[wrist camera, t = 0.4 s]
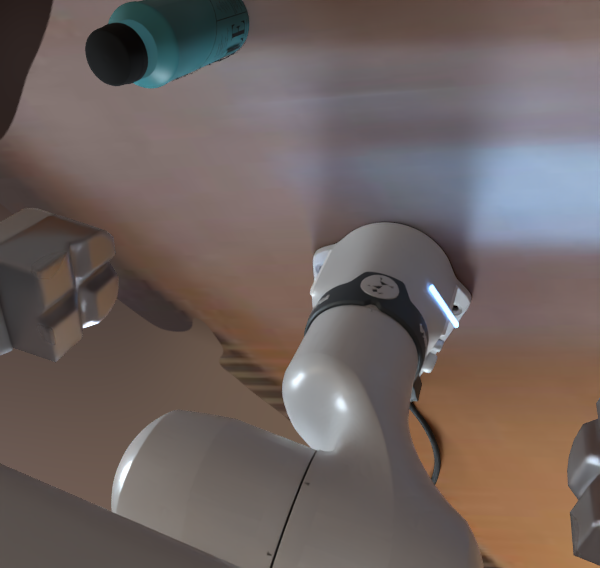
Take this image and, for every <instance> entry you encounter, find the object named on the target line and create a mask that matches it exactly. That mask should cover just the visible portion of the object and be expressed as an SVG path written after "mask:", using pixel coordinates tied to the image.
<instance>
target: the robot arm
mask: <svg viewBox="0 0 600 568" xmlns="http://www.w3.org/2000/svg"><path fill="white" fill-rule="evenodd" d="M115 254H116V253H115V247H114V240H113V237H112V236H111V235H110V234H109V233H108V232H107V231H105V230H102V229H99V228H96V227H93V226H90V225H87V224H84V223H81V222H78V221H75V220H72V219H69V218H66V217H63V216H60V215H56V214H53V213H50V212H47V211H43V210H40V209H37V208H25V209H23V210H21V211H19V212H18V213H16V214H14V215H12V216H10V217H8V218H6V219H5V220H3V221H1V222H0V355H2V354H4V353H7V352H9V351H12V348H15V349H19V350H21V351H25V352H27V353H30V354H33V355H36V356H39V357H42V358H45V359H48V360H51V361H54V362H56V361H57V360H59V358H61V357H62V356H63V355H64V354H65V353H66V352H67V351H68V350H70V349H71V348H72V347H73V346H74V345H75V344H76V343H77V342H79V341H80V340H81V339H82V333H83V328H84V327H87V326H91V325H94V324H97V323H99V322H100V321H101V320H102V319H104V318H105V316H107V315H108V314H109V313H110V311H111V309H112V307H113V305H114V303H115V301H116V299H117V294H118V288H119V283H118V274H117V273H116V271H115V270H114V268H113V267H112V265H111V264H110V262H109V261H110V260H111V259H112V257H113V256H114V255H115ZM321 266H322V267H321ZM313 270H314V283H313V285H312V287H311V290H310V295H312V305H313V310H312V312H311V314H310V316H309V318H308V322H307V325H306V328H305V333H304V339H303V340H302V342H301V344H300V346H299V348H298V349H297V351H296V353H295V355H294V357H293V359H292V361H291V362H290V364H289V366H288V368H287V370H286V372H285V375H284V379H283V386H282V393H283V400H284V404H285V407H286V410H287V413H288V415H289V418H290V420H291V422H292V424H293V426H294V428H295V429H296V431H297V432H298V433H299V434H300V436H301V437H302V438H303V439H304V440H305V441H306V442H307V444H308V445H309V446H310V447H311V448H310V447H307V446H304V445H301V444H299V443H296V442H294V441H291V440H289V439H286V438H284V437H281V436H279V435H276V434H273V433H271V432H268V431H266V430H263V429H261V428H258V427H256V426H253V425H250V424H248V423H245V422H242V421H240V420H238V419H233V418H229V417H223V416H217V415H212V414H206V413H199V412H192V411H184V410H174V411H172V412H169V413H167V414H165V415H163V416H161V417H159V418H158V419H156V420H155V421H153V422H152V423H151V424H149V425H148V426H147V427H146V428H144V429H143V430H142V431H141V432H140V433H139V434H138V435H137V437H136V438H135V439H134V440H133V442H132V443H131V444H130V445H129V447H128V448H127V450H126V452H125V453H124V455H123V457H122V459H121V461H120V464H119V466H118V468H117V471H116V474H115V478H114V482H113V489H112V502H111V503H112V504H111V507H112V511H109V510H107V509H105V508H102V507H100V506H98V505H95V504H93V503H91V502H88V501H86V500H83V499H82V498H79V497H77V496H75V495H72V494H70V493H68V492H65V491H63V490H61V489H58V488H56V487H54V486H51V485H49V484H47V483H44V482H42V481H40V480H38V479H35V478H33V477H31V476H28V475H26V474H24V473H21V472H19V471H17V470H14V469H12V468H10V467H7V466H5V465H2V464H1V463H0V568H484V567H483V562H482V557H481V553H480V550H479V547H478V544H477V541H476V539H475V537H474V534H473V532H472V530H471V528H470V527H469V525H468V523H467V521H466V520H465V519H464V518H463V517H462V516H461V515H460V514H459V513H458V512H457V511H456V510H455V509H454V508H453V507H452V506H451V505H450V504H449V502H448V501H447V500H446V499H445V498H444V497H443V495H442V494H441V493H440V491H439V490H438V489H437V487H436V486H435V484H436V481H437V479H438V475H439V471H440V464H441V460H440V453H439V448H438V445H437V442H436V439H435V437H434V435H433V433H432V431H431V429H430V427H429V425H428V424H427V422H426V421H425V419H424V418H423V417H422V416H421V415H420V413H419V412H418V411H417V409H416V408H415V406H414V405H413V404H412V403H411V402H410V401H418V399H419V394H420V390H421V386H422V383H421V379H420V376H421V374H422V373H423V371H424V372H427V373H430V372H431V371H432V369H433V367H434V365H435V363H436V360H437V356H436V355H435V354H436V353H437V352H439V351H440V350H441V348H442V346H443V343H444V341H445V340H446V339H447V337H448V336H449V334H450V333H451V331H452V330H453V329H454V327H455V328H457V327H458V325H459V323H458V321H459V320H460V318H461V317H462V316H463V314H464V313H465V311H466V310H467V308H468V307H469V305H470V302H471V299H472V298H471V294H470V293H469V291H468V290H467V289H466V288H465V287H464V286H463V285H462V284H461V283H460V282H459V281H458V280H457V278H456V277H455V275H454V272H453V270H452V267H451V264H450V262H449V260H448V258H447V256H446V254H445V253H444V251H443V250H442V249H441V248H440V247H439V245H438V244H437V243H436V242H435V241H433V240H432V239H431V238H430V237H428V236H427V235H425V234H424V233H422V232H420V231H418V230H416V229H414V228H412V227H409V226H406V225H402V224H397V223H388V222H381V223H373V224H368V225H365V226H362V227H360V228H357V229H355V230H354V231H352V232H350V233H349V234H348V235H347V236H345V237H344V238H343V239H342V240H341V241H339V242H338V243H336V244H333V245H329V246H325V247H322V248H320V249H318V250H317V251H316V252H315V254H314V257H313ZM453 305H456V306H458V308H454V307H453ZM596 405H597V413H598V419H596V420H593V421H591V422H588V423H585V424H583V425H582V427H581V429H580V431H579V432H578V434H577V436H576V437H575V439H574V442H573V445H572V448H571V451H570V455H569V460H568V470H567V473H568V486H569V488H570V489H571V490H572V492H573V493H574V494H575V496H576V497H577V499H578V502H577V503H576V505H575V506H574V508H573V509H572V510H571V512H570V517H571V529H572V541H573V553H574V555H575V556H577V557H580V558H582V559H585V560H587V561H590V562H592V563H595V564H597V565H600V399H599V400H598V402H597V403H596ZM409 409H410V410H411V411H412V412H413V414H414V415H415V416H416V418H417V419H418V420H419V422H420V423H421V425H422V426H423V428H424V430H425V432H426V433H427V435H428V437H429V440H430V442H431V445H432V448H433V452H434V458H435V466H434V472H433V475H432V479H430V477H429V475H428V474H427V472H426V470H425V469H424V467H423V465H422V463H421V461H420V459H419V457H418V454H417V452H416V450H415V447H414V444H413V442H412V439H411V435H410V431H409V424H408V416H409Z"/></svg>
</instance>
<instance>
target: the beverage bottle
mask: <svg viewBox="0 0 600 568" xmlns="http://www.w3.org/2000/svg"><path fill="white" fill-rule="evenodd" d="M248 31H249V16H248V12H247V9H246V7H245V5H244V3H243V1H242V0H143V1H138V2H136V1H134V2H128V3H125V4H123V5H121V6H119V7H118V8H117V9H116V10H115V11H114V13H113V14H112V16H111V17H110V20H109V23H108V24H107V25H105V26H103V27H102V28H99V29H97V30H95V31H93V32H92V33H91V34H90V35H89V37H88V39H87V42H86V47H85V52H86V58H87V61H88V64H89V66H90V68H91V70H92V71H93V73H94V74H95V75H96V76H97V77H98V78H99V79H100V80H101V81H103V82H104V83H106V84H109V85H112V86H120V85H124V84H131V83H134V84H136V85H138V86H141V87H144V88H158V87H161V86H163V85H165V84H167V83H168V82H170V81H172V80H173V81H174V79H175V80H176V79H177V78H178V79H179V77H181V76H183V75H184V76H183V77H185V75H186V74H187V75H188V73H190V72H193V71H194V72H195V70H197V69H200V68H202V67H203V66H206V65H208V64H209V65H212V64H210V63H213V62H216V61H218V62H219V59H220V61H221V60H223V59H225V58H227V57H230V54H231V55H232V54H234V53H235V52H236V51H237V50H238V49H240V48H241V47H243V46H242V45H243V44H244V42H245V40H246V39H247V36H248ZM235 54H236V53H235ZM228 55H229V56H228ZM225 56H227V57H225ZM223 57H225V58H223ZM221 58H223V59H221ZM190 74H192V73H190Z"/></svg>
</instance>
